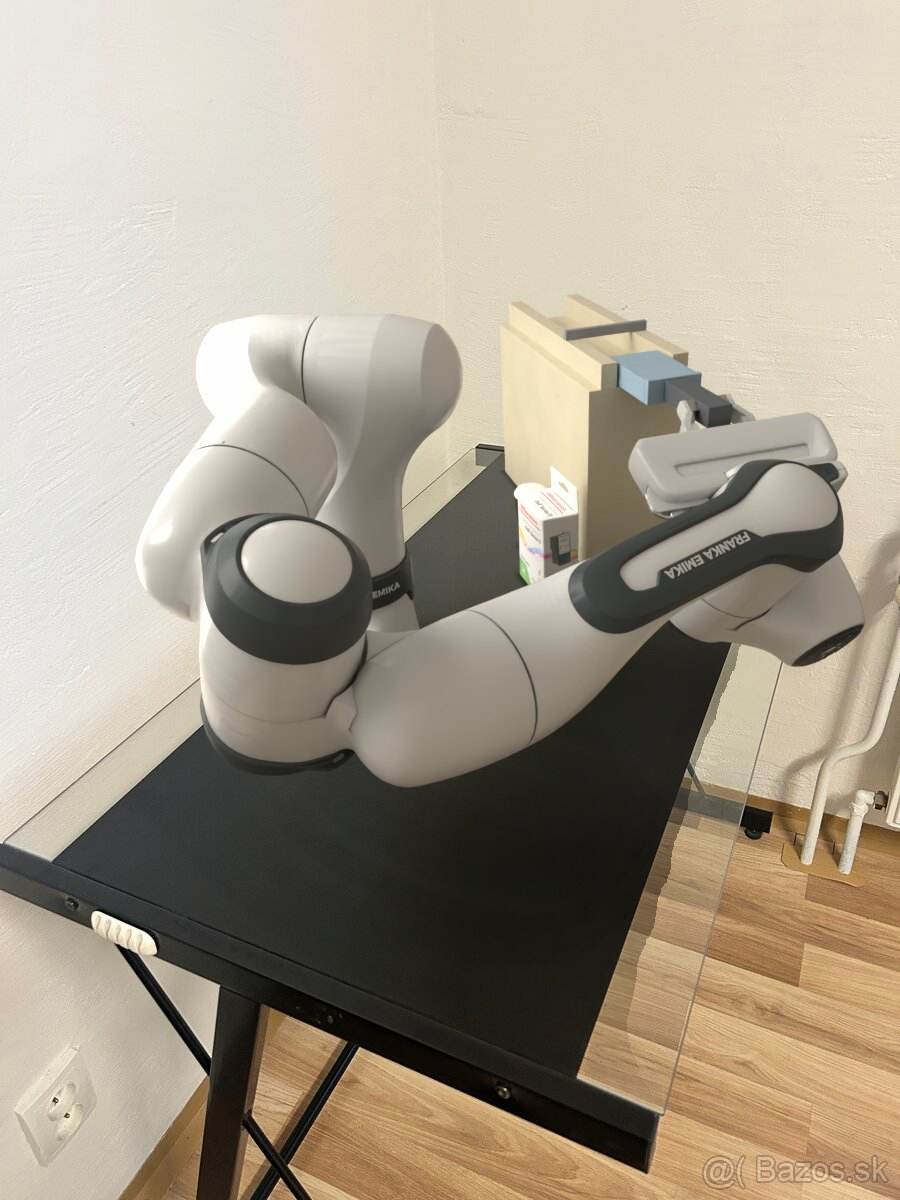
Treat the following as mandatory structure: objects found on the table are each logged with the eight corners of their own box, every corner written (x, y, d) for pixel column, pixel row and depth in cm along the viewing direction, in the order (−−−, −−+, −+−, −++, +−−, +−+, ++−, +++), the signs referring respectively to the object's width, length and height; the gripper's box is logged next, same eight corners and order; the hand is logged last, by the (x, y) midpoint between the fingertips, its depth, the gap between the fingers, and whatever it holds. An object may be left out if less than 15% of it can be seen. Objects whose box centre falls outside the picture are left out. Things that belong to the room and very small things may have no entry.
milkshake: (552, 554, 120) (552, 486, 115) (513, 553, 121) (511, 486, 116) (556, 539, 124) (555, 473, 118) (518, 538, 125) (515, 472, 120)
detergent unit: (586, 570, 115) (589, 356, 101) (505, 471, 146) (498, 295, 131) (684, 552, 118) (701, 340, 103) (584, 458, 148) (586, 284, 134)
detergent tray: (689, 435, 89) (691, 408, 87) (607, 378, 107) (607, 355, 105) (747, 426, 90) (750, 399, 89) (656, 371, 108) (657, 348, 106)
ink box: (517, 574, 116) (514, 470, 108) (552, 567, 117) (551, 462, 109) (543, 606, 109) (541, 496, 101) (580, 597, 110) (581, 488, 102)
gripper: (648, 543, 86) (602, 436, 93) (835, 509, 90) (778, 408, 96) (666, 505, 81) (616, 393, 87) (864, 470, 84) (801, 366, 91)
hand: (702, 401), depth 92 cm, fingers closed on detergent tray, 3 cm apart
